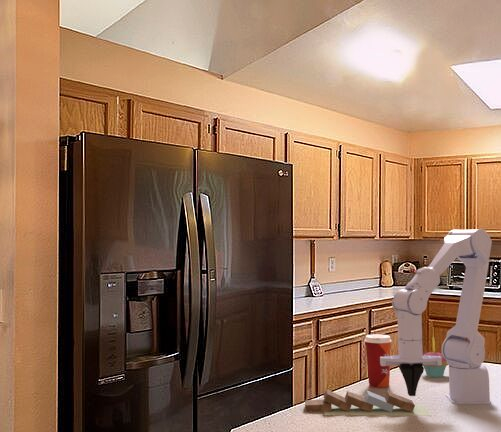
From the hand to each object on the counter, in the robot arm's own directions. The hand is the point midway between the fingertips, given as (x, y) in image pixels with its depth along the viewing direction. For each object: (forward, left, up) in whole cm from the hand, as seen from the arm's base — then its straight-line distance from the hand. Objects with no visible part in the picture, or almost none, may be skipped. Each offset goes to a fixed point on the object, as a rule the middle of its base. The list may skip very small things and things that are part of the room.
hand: (411, 395), depth 148 cm
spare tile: (+5, 0, -3) cm, 6 cm away
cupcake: (-13, -37, -4) cm, 39 cm away
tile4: (+15, 0, -3) cm, 15 cm away
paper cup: (+5, -25, -4) cm, 26 cm away
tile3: (+10, 0, -3) cm, 10 cm away
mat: (+9, 0, -4) cm, 10 cm away
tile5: (+19, 0, -3) cm, 20 cm away
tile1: (0, 0, -3) cm, 3 cm away
